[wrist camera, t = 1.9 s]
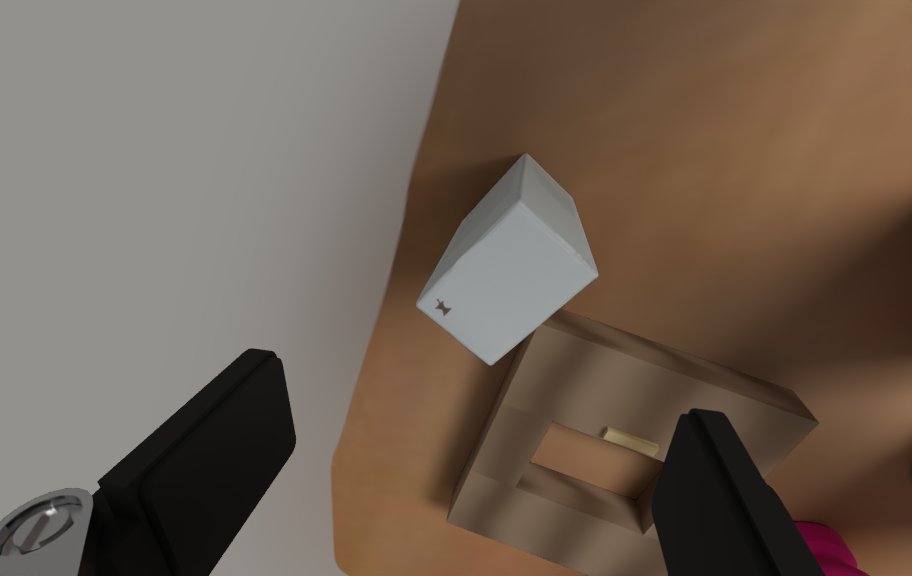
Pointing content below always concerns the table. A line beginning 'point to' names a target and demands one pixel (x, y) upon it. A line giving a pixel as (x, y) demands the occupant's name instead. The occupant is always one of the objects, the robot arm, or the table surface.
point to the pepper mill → (829, 550)
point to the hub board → (611, 419)
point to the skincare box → (510, 263)
